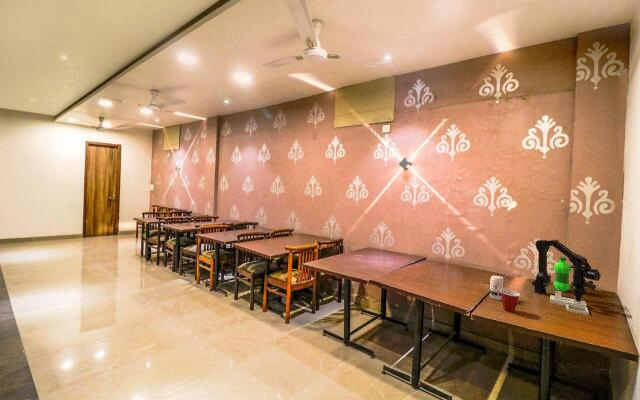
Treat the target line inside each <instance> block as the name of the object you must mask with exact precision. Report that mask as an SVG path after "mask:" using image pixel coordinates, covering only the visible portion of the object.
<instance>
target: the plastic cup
mask: <svg viewBox="0 0 640 400" xmlns="http://www.w3.org/2000/svg"><path fill="white" fill-rule="evenodd" d="M500 292H501V296H502V300H501V302H502V308H503V311H504V310H505V312H507V313H515V310H516V308H517V304H518V300H519V298H520V296H521V293H520V292H518V291H515V290H512V289H507V288H504V289H501V290H500Z"/></svg>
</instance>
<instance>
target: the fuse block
mask: <svg viewBox="0 0 640 400" xmlns="http://www.w3.org/2000/svg"><path fill="white" fill-rule="evenodd" d="M549 297H550V299H549V301H550V304H554V305H559V306H565V307H566V304H570V305H576V306H581V307H587V306H588V305H587V302H586V301H585V300H582V299H581V303H576V302H574V301H575V298H569V297H564V296H561V300H560V299H555V295H552V294H550V296H549ZM587 308H588V307H587Z"/></svg>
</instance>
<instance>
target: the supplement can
mask: <svg viewBox="0 0 640 400" xmlns="http://www.w3.org/2000/svg"><path fill="white" fill-rule="evenodd" d="M501 289H505V279H504V277H503V276H499V275H491V277H490V285H489V297H490V299H491V300H492V299H493V300H494V299H495V301H502V296H501V292H500V290H501Z"/></svg>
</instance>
